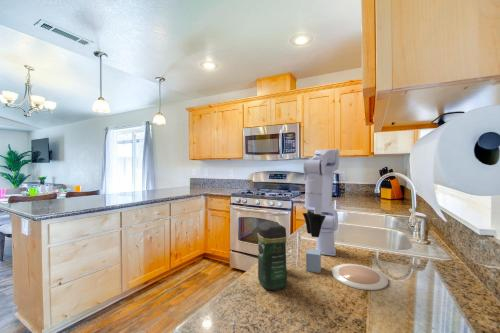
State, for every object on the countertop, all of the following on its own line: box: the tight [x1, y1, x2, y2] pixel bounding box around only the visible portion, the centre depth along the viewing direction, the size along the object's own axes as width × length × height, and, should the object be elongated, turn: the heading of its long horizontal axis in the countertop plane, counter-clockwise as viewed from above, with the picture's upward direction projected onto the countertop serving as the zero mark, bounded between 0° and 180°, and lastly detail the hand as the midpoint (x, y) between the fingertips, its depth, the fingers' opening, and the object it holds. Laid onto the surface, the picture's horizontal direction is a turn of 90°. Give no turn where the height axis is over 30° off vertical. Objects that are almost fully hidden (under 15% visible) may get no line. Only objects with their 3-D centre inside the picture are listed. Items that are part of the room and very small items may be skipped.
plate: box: [331, 263, 389, 291], centre depth 72 cm, size 16×16×1 cm
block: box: [305, 248, 322, 274], centre depth 78 cm, size 4×4×6 cm
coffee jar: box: [257, 220, 288, 291], centre depth 69 cm, size 10×8×19 cm
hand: (312, 235), depth 75 cm, fingers open, 7 cm apart
